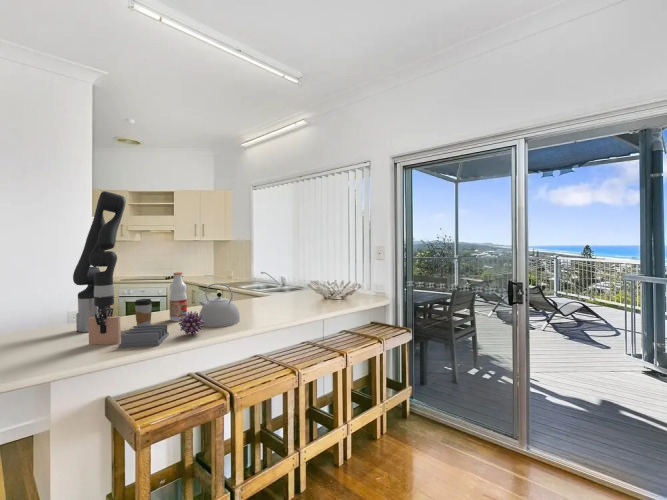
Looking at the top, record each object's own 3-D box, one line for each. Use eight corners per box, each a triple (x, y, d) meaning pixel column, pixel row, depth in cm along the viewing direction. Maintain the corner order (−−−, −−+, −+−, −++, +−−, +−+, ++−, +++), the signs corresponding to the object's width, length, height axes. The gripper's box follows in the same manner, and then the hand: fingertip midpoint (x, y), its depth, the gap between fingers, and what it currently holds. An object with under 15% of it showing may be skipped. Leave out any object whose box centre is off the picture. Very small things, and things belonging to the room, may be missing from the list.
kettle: (186, 325, 190) (185, 284, 189) (211, 316, 211) (211, 280, 211) (224, 328, 182) (224, 286, 182) (247, 318, 204) (246, 281, 203)
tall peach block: (88, 345, 153) (88, 318, 152) (91, 343, 155) (91, 317, 155) (118, 343, 155) (118, 317, 155) (120, 341, 158) (120, 316, 157)
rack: (119, 347, 149) (119, 335, 149) (133, 336, 165) (133, 325, 165) (158, 345, 152) (158, 333, 152) (168, 335, 169) (168, 324, 169)
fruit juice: (170, 318, 205) (169, 272, 204) (187, 317, 208) (186, 271, 207) (168, 321, 196) (168, 273, 195) (186, 320, 199) (185, 273, 198)
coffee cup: (155, 325, 187) (155, 298, 187) (146, 329, 179) (145, 301, 178) (141, 325, 188) (141, 298, 187) (131, 329, 180) (130, 301, 179)
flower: (190, 330, 177) (189, 308, 177) (209, 332, 173) (209, 309, 173) (173, 336, 166) (173, 312, 166) (193, 338, 162) (193, 314, 162)
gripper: (101, 292, 161) (102, 329, 161) (87, 297, 147) (88, 337, 148) (119, 292, 162) (120, 328, 163) (106, 297, 149) (107, 336, 149)
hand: (104, 332), depth 155 cm, fingers closed on tall peach block, 2 cm apart
